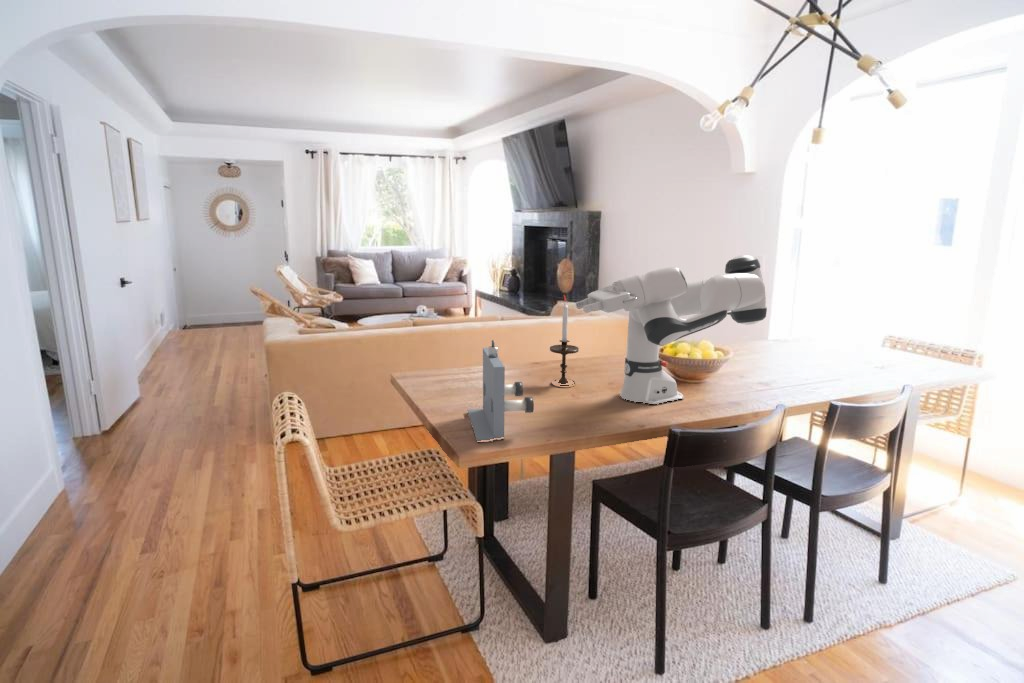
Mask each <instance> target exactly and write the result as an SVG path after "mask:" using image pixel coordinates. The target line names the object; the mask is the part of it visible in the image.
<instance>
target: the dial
mask: <svg viewBox="0 0 1024 683" xmlns="http://www.w3.org/2000/svg"><path fill="white" fill-rule="evenodd" d="M487 348H488V357H490V358H496V357H499V356H498V355H499V354H498V353H499V352H498V350H499V349H498V348H499V347H498V346H496V345H495V340H494V339H492V340H491V345H490V346H488V347H487Z"/></svg>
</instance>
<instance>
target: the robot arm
mask: <svg viewBox="0 0 1024 683" xmlns="http://www.w3.org/2000/svg"><path fill="white" fill-rule="evenodd" d="M760 268H761V264H760V261H759V260H758V258H757V257H756V256H753V255H746V254H742V255H737V256H735V257H733V258H731V259H730V260H728V261H727V262H726V264H725V268H724V274H722V273H721V274H718V275H714V276H711V277H710V278H707V279H701V280H695V281H686V278H685V275H684V274H683V272H682V270H681V269H680V268H679V267H675V266H674V267H673V266H671V267H664V268H659V269H656V270H655V269H654V270H651V271H649V272H647V273H645V274H642V275H633V276H629V277H625V278H621V279H619V280H618V281H615V282H612V283H611V285H609V286H608V285H607V286H605V287H603V288H602V287H601V288H599V289H597V290H594V291H592V292H590V293H588V294H587V298H584V299H582V300H580V301H576V302H575V307H576V309H578V310H581V309H583V312H584V313H585V314H586V313H591V312H598V311H599V312H600V311H603V312H604V313H613V312H617V311H620V310H624V311H625V312H628V323H627V324H628V327H627V341H626V357H625V358H624V377H623V378H624V379H623V383H622V388H621V391H620V394H619V397H620V396H621V397H622V398H621V397H620V398H621V399H623V398H624V399H623V400H625V399H626V400H625V401H627V400H630V401H629V402H631V401H634V402H633V403H636V402H643V403H642V404H645V403H649V404H657V405H660V404H659V403H662V404H664V403H663V402H667V401H672V402H675V401H674V400H677V401H679V400H678V399H682V400H684V395H683V393H681V392H680V391H678V385H677V382H676V379H674V378H673V377H672V376H671V375H670V374H668V373H667V372H666V371H665V370H663V367H664V368H668V366H669V363H668V361H665V360H661V359H659V356H660V354H659V352H660V347H661V346H667V345H669V344H671V343H673V342H676V341H678V340H679V339H681V338H684V337H687V336H689V335H692V334H695V333H697V332H700V331H702V330H706V329H708V328H711V327H714V326H716V325H717V324H719V323H721V322H722V321H723V320H725V318H727V316H728V315H729V316H730V317H731V319H732V320H733V321H735V322H736V323H737V324H741V325H745V326H747V325H748V326H749V325H755V324H758V323H759V322H761V321H763V320H764V319H765V318H766V317H767V310H768V308H767V306H766V303H767V301H766V300H767V299H766V298H767V297H766V296H767V295H766V289H765V288H766V287H765V283H764V281H763V280H764V279H763V275H762V271H761V269H760ZM684 316H685V318H681V317H684ZM686 316H688V317H686ZM667 403H668V402H667ZM649 404H648V405H649Z"/></svg>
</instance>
